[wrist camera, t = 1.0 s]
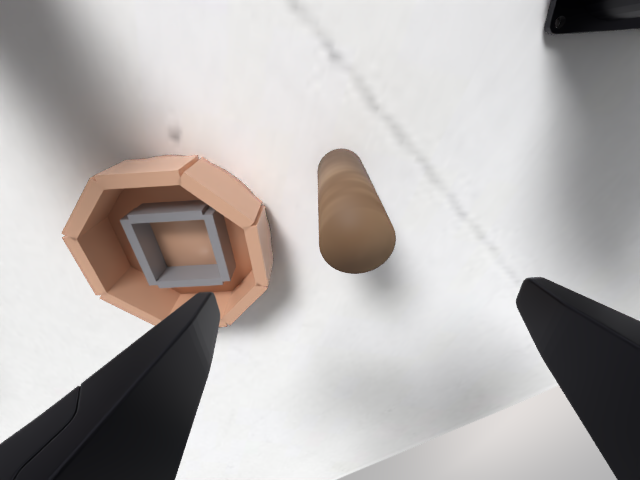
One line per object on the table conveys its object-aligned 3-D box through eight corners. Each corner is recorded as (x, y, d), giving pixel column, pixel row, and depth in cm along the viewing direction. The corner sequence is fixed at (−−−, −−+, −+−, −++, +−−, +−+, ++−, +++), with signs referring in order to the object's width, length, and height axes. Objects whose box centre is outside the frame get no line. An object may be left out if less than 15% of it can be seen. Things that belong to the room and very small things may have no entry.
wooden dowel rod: (363, 147, 18) (398, 205, 11) (362, 192, 20) (393, 271, 12) (316, 150, 19) (316, 210, 11) (319, 194, 20) (321, 275, 12)
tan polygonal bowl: (257, 149, 18) (245, 166, 15) (280, 291, 24) (275, 324, 21) (75, 160, 19) (27, 179, 16) (142, 298, 25) (117, 332, 21)
